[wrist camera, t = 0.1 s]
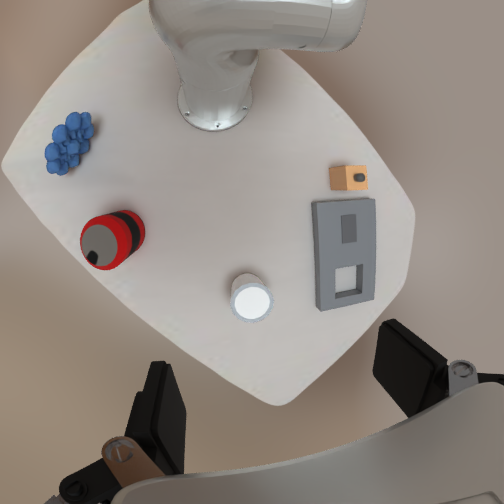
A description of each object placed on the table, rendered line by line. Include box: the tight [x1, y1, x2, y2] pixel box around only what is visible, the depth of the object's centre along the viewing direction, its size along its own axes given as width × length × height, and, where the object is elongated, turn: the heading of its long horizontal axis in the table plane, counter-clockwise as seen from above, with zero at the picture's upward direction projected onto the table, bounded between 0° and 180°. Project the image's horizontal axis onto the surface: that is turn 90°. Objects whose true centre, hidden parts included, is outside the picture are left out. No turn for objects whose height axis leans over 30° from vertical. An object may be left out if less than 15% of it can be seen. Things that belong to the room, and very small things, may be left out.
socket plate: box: [312, 198, 376, 311], centre depth 48 cm, size 20×12×3 cm, turn 6°
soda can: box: [80, 210, 145, 270], centre depth 37 cm, size 8×8×12 cm
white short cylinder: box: [230, 273, 274, 323], centre depth 45 cm, size 7×7×7 cm
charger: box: [329, 166, 368, 190], centre depth 43 cm, size 4×4×8 cm
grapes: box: [45, 112, 94, 176], centre depth 33 cm, size 12×7×12 cm, turn 141°
